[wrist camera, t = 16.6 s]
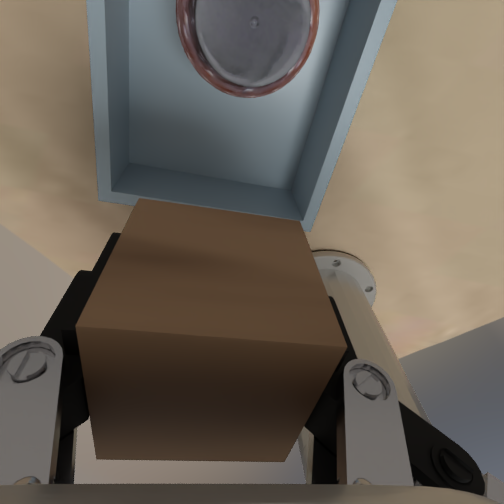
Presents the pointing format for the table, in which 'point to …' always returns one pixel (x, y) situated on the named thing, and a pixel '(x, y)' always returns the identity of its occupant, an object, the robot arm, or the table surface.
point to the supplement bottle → (247, 41)
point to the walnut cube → (206, 337)
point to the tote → (223, 113)
